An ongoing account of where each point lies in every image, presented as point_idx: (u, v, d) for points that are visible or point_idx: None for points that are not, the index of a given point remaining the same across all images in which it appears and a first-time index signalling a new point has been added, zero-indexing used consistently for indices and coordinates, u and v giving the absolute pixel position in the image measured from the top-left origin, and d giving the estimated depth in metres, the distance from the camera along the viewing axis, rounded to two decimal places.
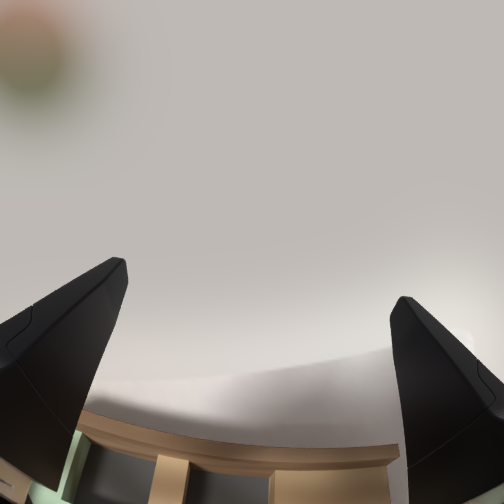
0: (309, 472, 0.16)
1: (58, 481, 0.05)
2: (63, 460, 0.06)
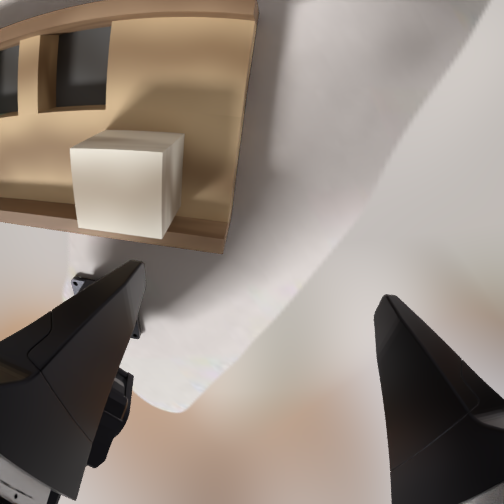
0: (148, 20, 0.13)
1: (77, 489, 0.05)
2: (82, 468, 0.06)
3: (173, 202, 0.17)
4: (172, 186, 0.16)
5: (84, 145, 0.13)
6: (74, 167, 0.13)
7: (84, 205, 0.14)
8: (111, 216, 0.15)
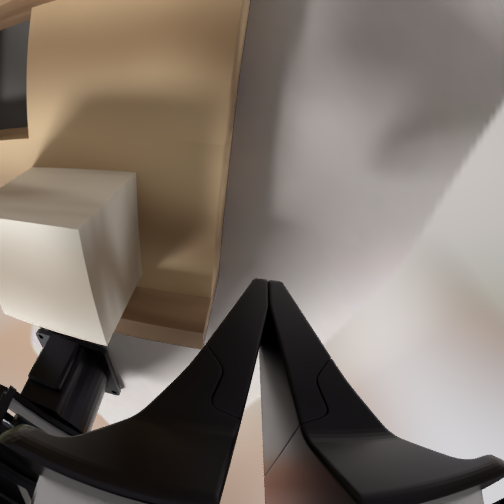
0: None
1: None
2: None
3: (124, 282, 0.11)
4: (117, 263, 0.10)
5: None
6: None
7: (2, 290, 0.08)
8: (35, 308, 0.09)
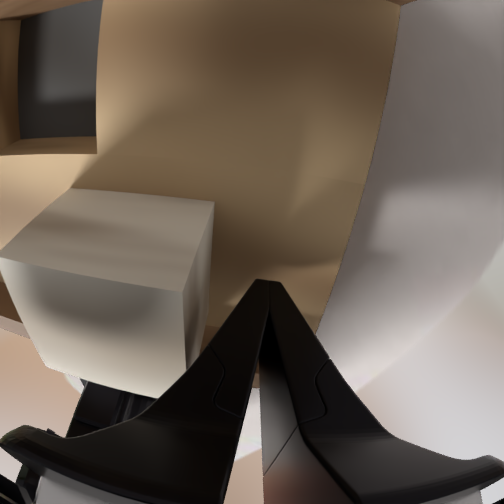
0: None
1: None
2: None
3: (200, 329, 0.09)
4: (199, 311, 0.09)
5: (21, 247, 0.06)
6: (12, 288, 0.06)
7: (46, 345, 0.07)
8: (94, 367, 0.08)
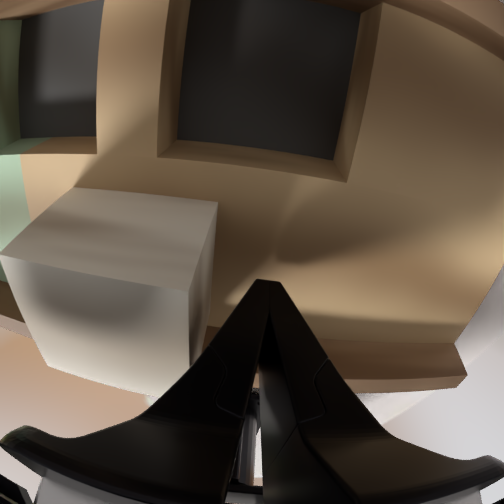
0: (452, 35, 0.06)
1: None
2: None
3: (202, 328, 0.10)
4: (202, 310, 0.09)
5: (24, 245, 0.06)
6: (15, 287, 0.06)
7: (48, 343, 0.07)
8: (96, 366, 0.08)
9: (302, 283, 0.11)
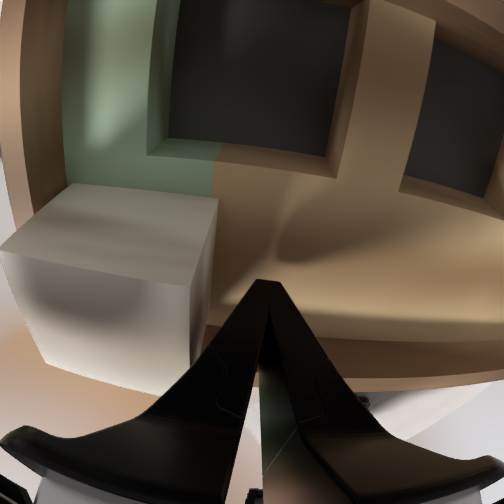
0: None
1: None
2: None
3: (202, 326, 0.09)
4: (202, 308, 0.09)
5: (23, 241, 0.06)
6: (13, 283, 0.06)
7: (46, 340, 0.07)
8: (95, 363, 0.08)
9: (463, 298, 0.11)
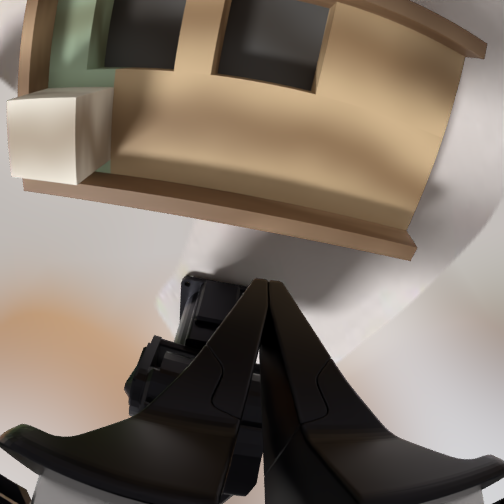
0: (378, 17, 0.12)
1: None
2: None
3: (96, 152, 0.15)
4: (94, 135, 0.14)
5: (19, 98, 0.11)
6: (9, 118, 0.11)
7: (15, 154, 0.13)
8: (35, 163, 0.13)
9: (290, 158, 0.17)
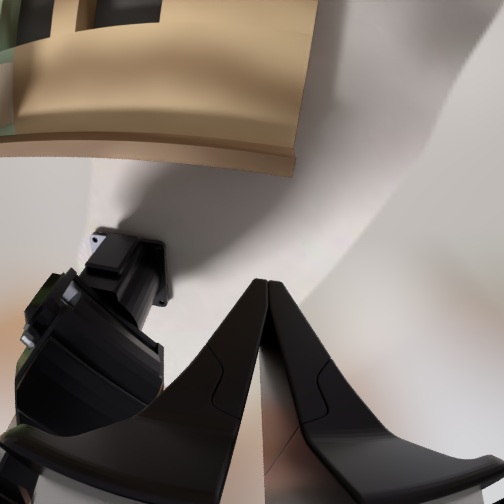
0: None
1: None
2: None
3: None
4: None
5: None
6: None
7: None
8: None
9: (144, 87, 0.15)
